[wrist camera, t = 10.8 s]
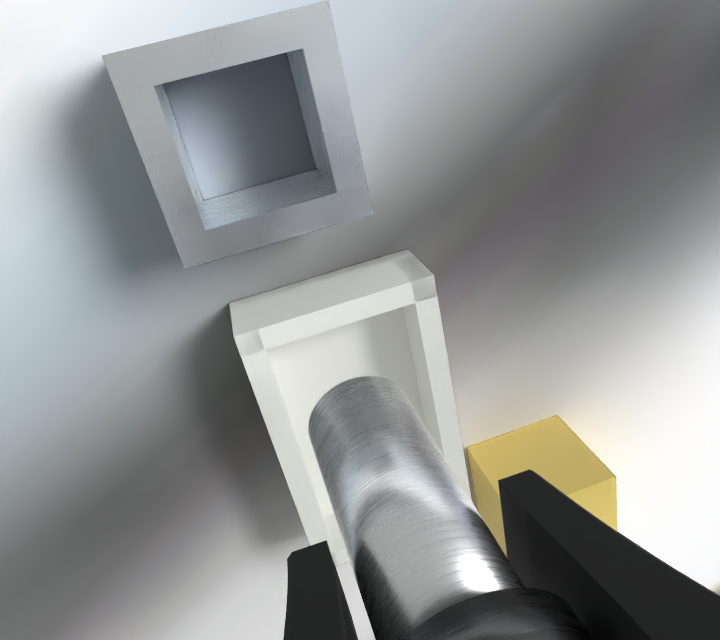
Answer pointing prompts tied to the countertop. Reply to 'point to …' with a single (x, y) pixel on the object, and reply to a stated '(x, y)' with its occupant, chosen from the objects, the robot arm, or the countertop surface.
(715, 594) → the robot arm
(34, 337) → the countertop surface
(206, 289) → the countertop surface
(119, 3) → the countertop surface
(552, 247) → the countertop surface
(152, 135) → the socket block
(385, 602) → the stop pin
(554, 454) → the block
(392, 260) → the tray
